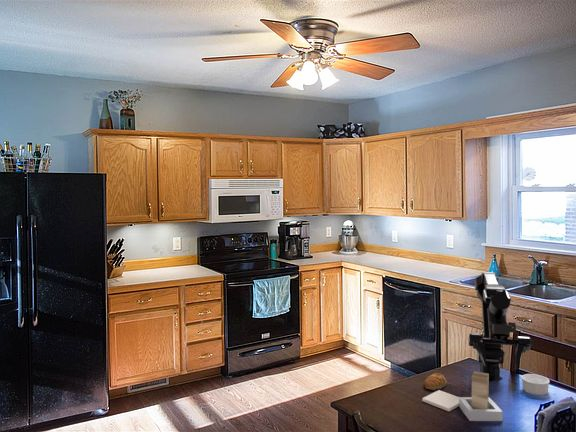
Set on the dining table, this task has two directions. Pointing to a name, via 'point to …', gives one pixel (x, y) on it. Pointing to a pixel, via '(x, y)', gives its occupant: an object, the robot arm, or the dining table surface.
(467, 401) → the holder
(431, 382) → the pastry
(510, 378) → the dining table surface
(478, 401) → the peg
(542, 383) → the ramekin
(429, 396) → the tile
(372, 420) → the dining table surface
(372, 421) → the dining table surface
